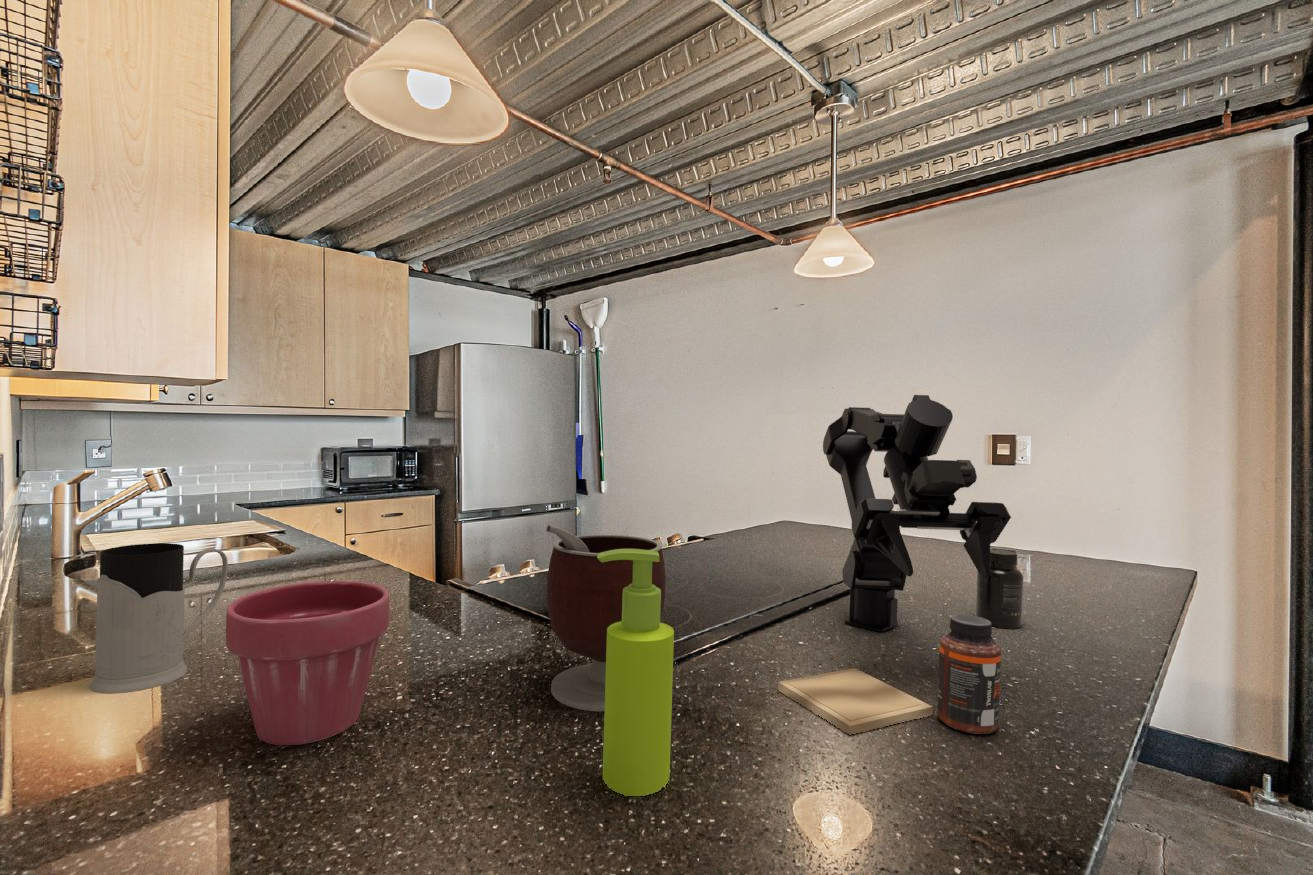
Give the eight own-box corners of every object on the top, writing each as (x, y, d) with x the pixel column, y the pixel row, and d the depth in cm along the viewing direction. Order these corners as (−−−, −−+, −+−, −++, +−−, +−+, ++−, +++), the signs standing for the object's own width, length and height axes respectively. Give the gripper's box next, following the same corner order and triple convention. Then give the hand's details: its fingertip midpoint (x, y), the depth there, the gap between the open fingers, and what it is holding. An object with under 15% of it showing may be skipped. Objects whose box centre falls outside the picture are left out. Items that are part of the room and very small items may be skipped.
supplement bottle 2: (1022, 621, 106) (1025, 551, 106) (1020, 632, 100) (1023, 557, 100) (977, 614, 110) (979, 546, 110) (973, 623, 104) (976, 552, 104)
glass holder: (71, 685, 70) (74, 551, 70) (201, 645, 83) (204, 533, 83) (121, 698, 67) (124, 559, 67) (248, 655, 80) (251, 539, 80)
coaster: (777, 690, 74) (778, 681, 74) (854, 675, 80) (854, 667, 79) (849, 735, 63) (850, 725, 63) (932, 715, 69) (932, 705, 69)
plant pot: (270, 778, 53) (274, 628, 53) (195, 731, 60) (198, 600, 60) (415, 716, 65) (418, 594, 65) (337, 683, 72) (340, 574, 72)
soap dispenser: (591, 760, 57) (597, 543, 57) (665, 759, 58) (672, 545, 58) (589, 798, 51) (597, 556, 51) (673, 796, 52) (680, 558, 52)
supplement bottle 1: (1007, 740, 64) (1011, 630, 63) (944, 733, 65) (948, 624, 65) (988, 714, 69) (991, 613, 69) (931, 708, 71) (934, 609, 70)
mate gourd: (610, 657, 83) (615, 508, 83) (686, 690, 73) (692, 521, 73) (508, 688, 72) (513, 517, 72) (582, 732, 62) (587, 534, 62)
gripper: (860, 436, 81) (890, 531, 69) (1003, 440, 81) (1057, 537, 69) (841, 493, 88) (865, 587, 77) (972, 497, 88) (1015, 592, 77)
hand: (948, 575), depth 75 cm, fingers open, 9 cm apart
